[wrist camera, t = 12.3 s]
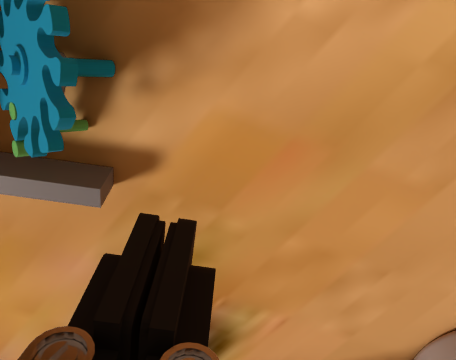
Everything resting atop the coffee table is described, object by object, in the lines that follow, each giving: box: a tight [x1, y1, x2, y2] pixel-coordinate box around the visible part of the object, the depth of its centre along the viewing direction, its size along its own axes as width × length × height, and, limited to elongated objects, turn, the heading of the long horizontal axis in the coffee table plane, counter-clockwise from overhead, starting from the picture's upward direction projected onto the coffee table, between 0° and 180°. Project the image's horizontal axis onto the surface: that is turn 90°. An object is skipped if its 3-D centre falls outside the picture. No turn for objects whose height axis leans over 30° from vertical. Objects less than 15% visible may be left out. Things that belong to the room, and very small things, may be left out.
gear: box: [0, 0, 115, 158], centre depth 23 cm, size 11×6×10 cm
